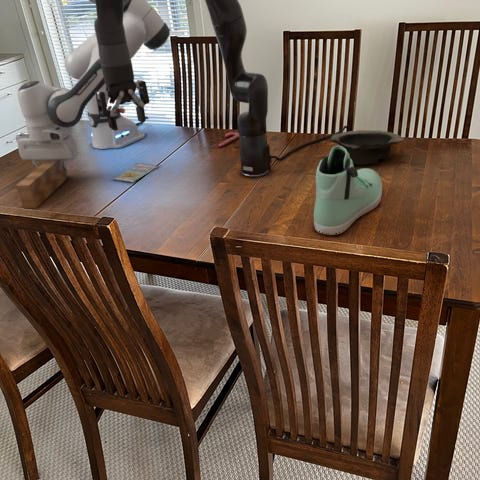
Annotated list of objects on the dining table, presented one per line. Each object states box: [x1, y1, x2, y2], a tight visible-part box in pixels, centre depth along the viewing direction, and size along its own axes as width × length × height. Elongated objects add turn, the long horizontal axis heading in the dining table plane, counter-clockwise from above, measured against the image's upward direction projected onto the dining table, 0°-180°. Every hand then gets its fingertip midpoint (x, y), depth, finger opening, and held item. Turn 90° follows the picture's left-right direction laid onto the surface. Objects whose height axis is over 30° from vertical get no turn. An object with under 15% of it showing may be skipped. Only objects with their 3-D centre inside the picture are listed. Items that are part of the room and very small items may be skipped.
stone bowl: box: [329, 129, 404, 166], centre depth 169 cm, size 25×25×9 cm
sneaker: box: [313, 145, 383, 236], centre depth 133 cm, size 14×35×20 cm, turn 152°
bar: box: [15, 159, 69, 209], centre depth 162 cm, size 24×4×8 cm, turn 172°
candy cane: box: [218, 131, 239, 148], centre depth 194 cm, size 6×15×2 cm, turn 145°
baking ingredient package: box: [113, 163, 158, 183], centre depth 172 cm, size 9×1×15 cm
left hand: (53, 170), depth 168 cm, fingers open, 8 cm apart
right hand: (128, 125), depth 128 cm, fingers open, 8 cm apart
